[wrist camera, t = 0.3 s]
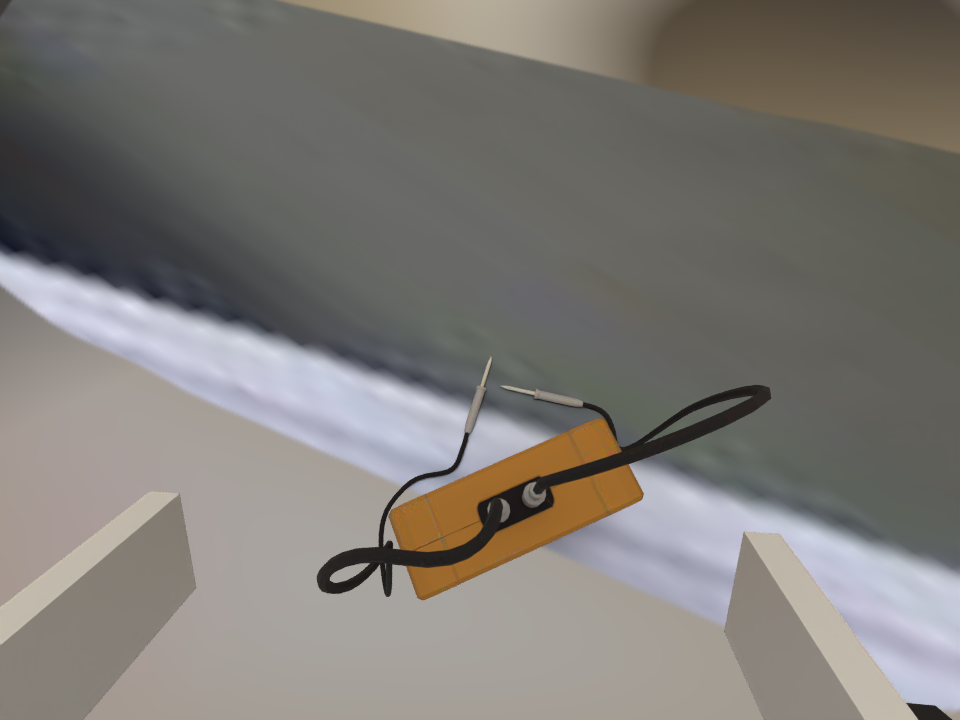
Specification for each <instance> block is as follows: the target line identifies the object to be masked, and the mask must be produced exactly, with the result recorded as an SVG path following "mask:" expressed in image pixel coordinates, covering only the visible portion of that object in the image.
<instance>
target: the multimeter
mask: <svg viewBox="0 0 960 720" xmlns="http://www.w3.org/2000/svg"><path fill="white" fill-rule="evenodd" d="M491 361H492V356H491V358H490V359H489V361H488V364H487V367H486V370H485V373H484V376H483V379H482V383H481V386H476V393H475V396H474V399H473V402H472V405H471V409H470V412H469V415H468V418H467V421H466V425H465V435H464V439H463V442H462V445H461V448H460V451H459V454H458V457H457V460H456V462H455V463H454V465H453V466H452V467H451V468H449V469H447V470H443V471H439V472H433V473H426V474H423V475H420V476H417V477H415V478H413V479H411V480H410V481H408V482H407V483H406V484H405V485H404V486H403V487H402V488H401V489H400V490H399V491H398V492H397V493H396V494H395V495H394V496H393V498H392V499H391V500H390V502H389V503H388V505H387V507H386V508H385V510H384V513H383V516H382V519H381V523H380V529H379V547H372V548H358V549H353V550H349V551H346V552H342V553H340V554H338V555H336V556H334V557H332V558H331V559H330V560H329V561H328V562H327V563H326V564H324V566H323V567H322V568H321V569H320V571H319V573H318V575H317V583H318V586H319V588H320V589H321V591H323V592H326V593H331V594H340V593H343V592H346V591H350V590H352V589H353V588H355V587H357V586H358V585H360V584H361V583H362V582H364V580H366V579H367V578H368V577H369V576H370V575H371V574H372V573H373V572H374V571H375V570H376V569H377V567H378V566H379V564H380V568H381V576H382V583H383V589H384V593H385V595H386V597H389V596H390V595H391V589H392V564H394V565H403V566H406V567H407V570H408V572H409V575H410V578H411V581H412V584H413V587H414V589H415V592H416V595H417V598H419V599H421V600H425V599H428V598H430V597H432V596H435V595H437V594H439V593H441V592H443V591H446V590H448V589H450V588H452V587H455V586H457V585H459V584H461V583H463V582H465V581H467V580H470V579H472V578H474V577H476V576H478V575H480V574H482V573H485V572H487V571H489V570H491V569H493V568H496V567H498V566H500V565H502V564H504V563H506V562H508V561H511V560H513V559H515V558H517V557H520V556H521V555H524V554H526V553H528V552H530V551H533V550H535V549H537V548H539V547H541V546H543V545H546V544H548V543H550V542H552V541H554V540H557V539H559V538H561V537H563V536H565V535H567V534H570V533H572V532H574V531H576V530H578V529H580V528H583V527H585V526H587V525H589V524H591V523H593V522H596V521H598V520H600V519H602V518H604V517H607V516H609V515H611V514H613V513H616V512H618V511H620V510H622V509H624V508H626V507H628V506H631V505H633V504H635V503H637V502H639V501H641V500H642V498H643V495H644V493H643V491H642V489H641V488H640V486H639V484H638V482H637V480H636V478H635V476H634V474H633V472H632V470H631V468H630V466H629V464H630V463H633V462H636V461H639V460H642V459H645V458H647V457H650V456H653V455H656V454H659V453H661V452H664V451H667V450H669V449H672V448H674V447H677V446H679V445H682V444H684V443H687V442H689V441H692V440H694V439H697V438H699V437H701V436H704V435H706V434H708V433H711V432H713V431H715V430H718V429H720V428H722V427H724V426H726V425H728V424H730V423H732V422H734V421H736V420H738V419H740V418H742V417H744V416H746V415H748V414H750V413H752V412H754V411H755V410H757V409H758V408H759V407H761V406H762V405H763V404H765V403H766V402H767V401H768V400H770V399H771V393H770V388H769V387H766V386H762V385H752V386H745V387H740V388H736V389H732V390H728V391H725V392H722V393H719V394H716V395H713V396H710V397H708V398H705V399H702V400H700V401H698V402H696V403H694V404H691V405H690V406H688V407H686V408H684V409H683V410H681V411H680V412H678V413H677V414H675V415H674V416H672V417H671V418H670V419H668V420H667V421H665V422H664V423H663V424H661V425H660V426H658V427H657V428H656V429H654V430H653V431H652V432H650V433H649V434H647V435H646V436H645V437H643V438H642V439H640V440H638V441H637V442H635V443H633V444H631V445H629V446H626V447H620V446H619V445H618V442H617V437H616V431H615V428H614V425H613V422H612V420H611V418H610V416H609V415H608V414H607V413H606V411H604V410H603V409H602V408H600V407H597V406H595V405H592V404H588V403H585V402H583V401H581V400H578V399H575V398H571V397H567V396H562V395H558V394H553V393H548V392H544V391H539V390H538V389H536V391H535V392H533V391H529V390H524V389H519V388H515V387H510V386H501V387H503V388H506V389H509V390H513V391H517V392H522V393H526V394H530V395H534V399H542V400H546V401H551V402H555V403H560V404H564V405H569V406H575V407H582V406H583V407H586V408H590V409H593V410H596V411H598V412H600V413H601V414H602V415H603V416H604V417H605V418H606V420H607V422H608V424H607V422H606V420H604V419H601V418H598V419H595V420H593V421H590V422H588V423H585V424H583V425H581V426H578V427H576V428H574V429H571V430H569V431H567V432H565V433H563V434H561V435H558V436H556V437H554V438H552V439H549V440H547V441H545V442H543V443H540V444H538V445H536V446H534V447H531V448H529V449H527V450H524V451H522V452H520V453H518V454H515V455H513V456H511V457H509V458H506V459H504V460H502V461H500V462H497V463H495V464H493V465H491V466H488V467H486V468H484V469H481V470H479V471H477V472H475V473H472V474H470V475H468V476H466V477H463V478H461V479H459V480H457V481H454V482H452V483H450V484H448V485H445V486H443V487H441V488H438V489H436V490H434V491H432V492H429V493H427V494H425V495H422V496H420V497H417V498H415V499H413V500H411V501H409V502H406V503H404V504H402V505H400V506H398V507H396V508H394V509H392V510H391V512H390V514H389V519H390V521H391V525H392V528H393V530H394V533H395V536H396V539H397V541H398V544H399V547H400V549H393V543H392V541H387V543H386V545H385V546H384V547H383V534H384V525H385V521H386V517H387V515H388V512H389V510H390V509H391V507H392V505H393V504H394V502H395V501H396V500H397V499H398V497H399V496H400V495H401V494H402V493H403V492H404V491H405V490H406V489H407V488H408V487H409V486H410V485H412V484H413V483H415V482H417V481H419V480H422V479H425V478H429V477H435V476H442V475H446V474H449V473H451V472H453V471H454V470H455V469H456V468H457V467H458V465H459V463H460V461H461V459H462V456H463V453H464V450H465V447H466V444H467V440H468V436H469V434H470V433H471V431H472V429H473V427H474V424H475V421H476V418H477V415H478V411H479V408H480V405H481V402H482V399H483V396H484V392H485V391H486V390H487V389H486V388H485V387H484V384H485V381H486V378H487V375H488V372H489V369H490V365H491ZM745 396H753V397H751V398H750V399H748V400H746V401H744V402H742V403H740V404H738V405H736V406H734V407H732V408H730V409H728V410H726V411H723V412H721V413H719V414H717V415H714V416H712V417H710V418H707V419H705V420H703V421H700V422H698V423H696V424H693V425H691V426H689V427H686V428H684V429H681V430H678V431H676V432H673V433H671V434H668V435H666V436H663V437H661V438H658V439H655V440H653V441H650V442H647V441H648V440H650V439H651V438H653V437H654V436H655V435H657V434H658V433H660V432H661V431H663V430H664V429H666V428H667V427H669V426H670V425H672V424H673V423H675V422H676V421H678V420H679V419H681V418H682V417H684V416H686V415H688V414H689V413H691V412H693V411H696V410H698V409H701V408H703V407H706V406H709V405H712V404H715V403H718V402H722V401H726V400H730V399H734V398H740V397H745ZM608 425H609V426H608ZM609 427H610V428H609ZM645 442H647V443H645ZM644 443H645V444H644ZM360 563H370V564H369V565H368V566H367V567H366V568H365V569H364V570H363V571H361V572H360V573H359V574H358V575H356V576H354V577H353V578H351V579H349V580H347V581H343V582H339V583H333V582H331V581H330V576H331V575H332V574H333V573H334V572H336V571H338V570H340V569H342V568H344V567H347V566H351V565H355V564H360ZM385 563H386V569H385Z"/></svg>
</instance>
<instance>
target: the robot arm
mask: <svg viewBox="0 0 960 720" xmlns="http://www.w3.org/2000/svg"><path fill="white" fill-rule="evenodd" d="M195 589H196V583H195V578H194V573H193V566H192V561H191V555H190V549H189V544H188V538H187V533H186V526H185V521H184V515H183V509H182V504H181V498H180V494H179V493H164V492H149V493H147V494H146V495H145V496H143V497H142V498H141V499H140V500H138V501H137V502H136V503H134V504H133V505H132V506H130V507H129V508H128V509H127V510H125V511H124V512H123V513H122V514H120V515H119V516H117V517H116V518H115V519H114V520H112V521H111V522H110V523H108V524H107V525H106V526H105V527H103V528H102V529H101V530H99V531H98V532H97V533H96V534H94V535H93V536H92V537H90V538H89V539H88V540H87V541H85V542H84V543H83V544H81V545H80V546H79V547H77V548H76V549H75V550H74V551H72V552H71V553H70V554H69V555H67V556H66V557H64V558H63V559H62V560H61V561H59V562H58V563H57V564H55V565H54V566H53V567H52V568H50V569H49V570H48V571H47V572H45V573H44V574H43V575H41V576H40V577H39V578H37V579H36V580H35V581H34V582H32V583H31V584H30V585H28V586H27V587H26V588H24V589H23V590H22V591H21V592H19V593H18V594H17V595H15V596H14V597H13V598H12V599H10V600H9V601H8V602H6V603H5V604H4V605H2V606H1V607H0V720H84V719H85V717H86V716H87V715H88V714H89V713H90V712H91V710H92V709H93V708H94V707H95V706H96V704H97V703H98V702H99V701H100V700H101V699H102V698H103V696H104V695H105V694H106V693H107V692H108V691H109V689H110V688H111V687H112V686H113V684H115V682H116V681H117V680H118V679H119V678H120V676H121V675H122V674H123V673H124V672H125V671H126V669H127V668H128V667H129V666H130V665H131V664H132V662H133V661H134V660H135V659H136V657H138V655H139V654H140V653H141V652H142V651H143V650H144V648H145V647H146V646H147V645H148V643H149V642H150V641H151V640H152V639H153V638H154V637H155V635H156V634H157V633H158V632H159V631H160V630H161V628H162V627H163V626H164V625H165V624H166V622H167V621H168V620H169V619H170V618H171V617H172V616H173V614H174V613H175V612H176V611H177V610H178V609H179V607H180V606H181V605H182V604H183V603H184V602H185V600H186V599H187V598H188V597H189V596H190V595H191V593H192V592H193V591H194V590H195ZM724 632H725V634H726V636H727V639H728V641H729V643H730V645H731V647H732V650H733V652H734V654H735V656H736V659H737V661H738V663H739V665H740V667H741V670H742V672H743V674H744V676H745V679H746V681H747V683H748V685H749V688H750V690H751V692H752V694H753V696H754V699H755V701H756V703H757V705H758V707H759V710H760V712H761V714H762V716H763V719H764V720H952V719H951V718H950V717H948V716H947V715H946V714H945V713H944V712H942V711H941V710H940V709H939V708H937V707H936V706H933V705H922V704H911V703H905V701H904V700H903V698H902V697H901V696H900V694H899V693H898V692H897V690H896V689H895V688H894V686H893V685H892V684H891V682H890V681H889V680H888V678H887V677H886V676H885V674H884V673H883V672H882V670H881V669H880V668H879V666H878V665H877V664H876V662H875V661H874V660H873V658H872V657H871V656H870V654H869V653H868V652H867V650H866V649H865V647H864V646H863V645H862V643H861V642H860V641H859V639H858V638H857V637H856V635H855V634H854V633H853V631H852V630H851V629H850V627H849V626H848V625H847V623H846V622H845V621H844V619H843V618H842V617H841V615H840V614H839V613H838V611H837V610H836V609H835V607H834V606H833V605H832V603H831V602H830V600H829V599H828V598H827V596H826V595H825V594H824V592H823V591H822V590H821V588H820V587H819V586H818V584H817V583H816V582H815V580H814V579H813V578H812V576H811V575H810V574H809V572H808V571H807V570H806V568H805V567H804V566H803V564H802V563H801V562H800V560H799V559H798V558H797V556H796V555H795V553H794V552H793V551H792V549H791V548H790V547H789V545H788V544H787V543H786V541H785V540H784V539H783V537H782V536H781V535H780V534H772V533H757V532H744V533H743V539H742V544H741V549H740V554H739V559H738V564H737V569H736V574H735V579H734V585H733V590H732V595H731V600H730V605H729V610H728V615H727V620H726V625H725V630H724Z"/></svg>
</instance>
